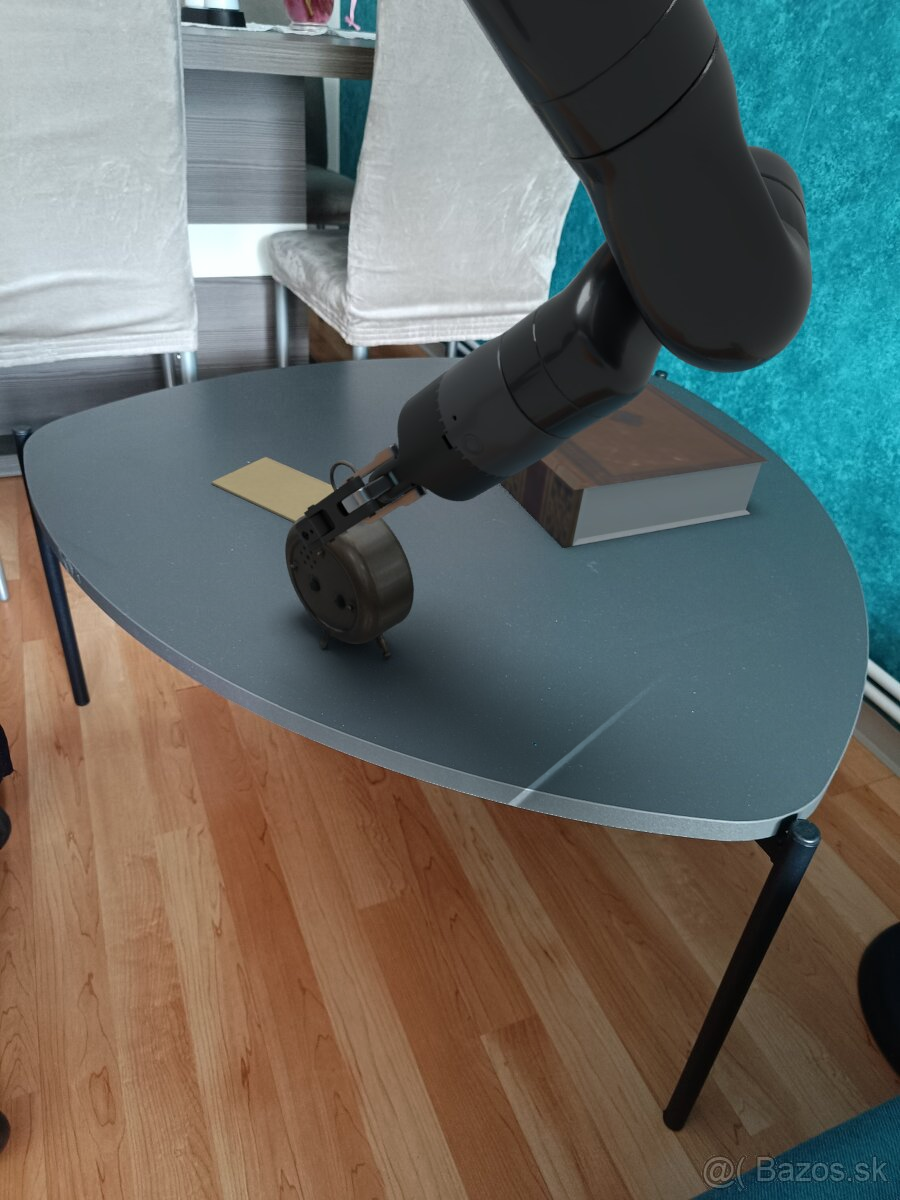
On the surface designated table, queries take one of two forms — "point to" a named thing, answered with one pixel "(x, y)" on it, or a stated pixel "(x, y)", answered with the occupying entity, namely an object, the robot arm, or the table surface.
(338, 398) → the table surface
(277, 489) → the mat
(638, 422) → the book
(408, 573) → the alarm clock
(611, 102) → the robot arm
